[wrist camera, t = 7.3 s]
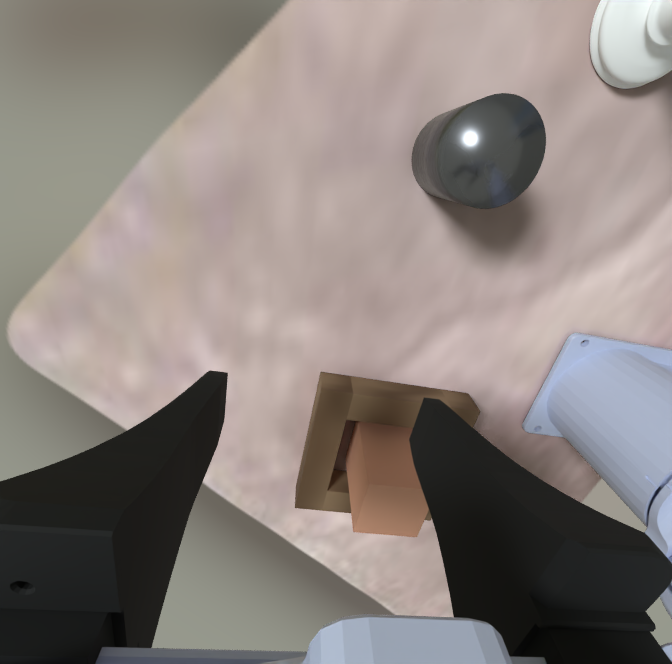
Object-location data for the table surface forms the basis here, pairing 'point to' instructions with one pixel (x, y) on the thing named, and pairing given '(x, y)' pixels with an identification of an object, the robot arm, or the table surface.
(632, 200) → the table surface
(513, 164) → the metal cylinder
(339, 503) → the walnut collar
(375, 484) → the terracotta block
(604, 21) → the chess piece
